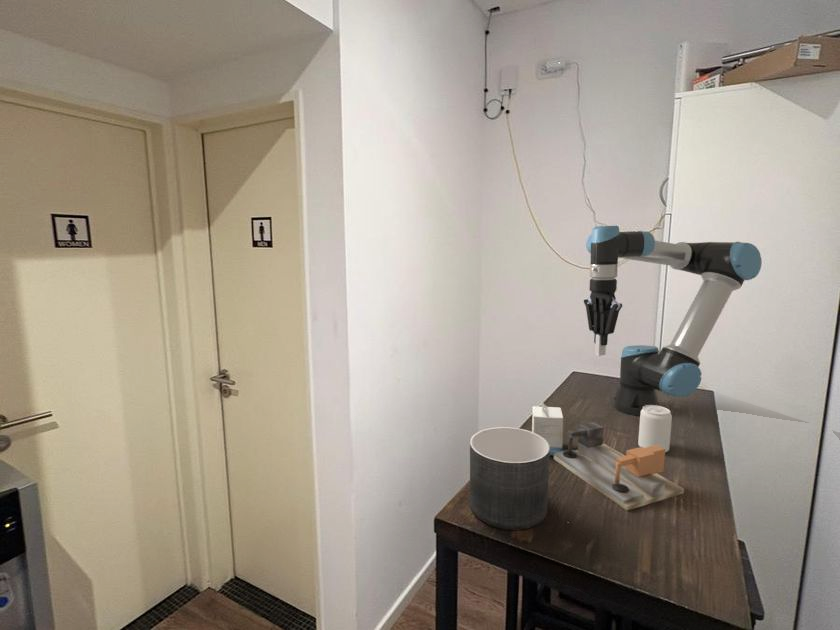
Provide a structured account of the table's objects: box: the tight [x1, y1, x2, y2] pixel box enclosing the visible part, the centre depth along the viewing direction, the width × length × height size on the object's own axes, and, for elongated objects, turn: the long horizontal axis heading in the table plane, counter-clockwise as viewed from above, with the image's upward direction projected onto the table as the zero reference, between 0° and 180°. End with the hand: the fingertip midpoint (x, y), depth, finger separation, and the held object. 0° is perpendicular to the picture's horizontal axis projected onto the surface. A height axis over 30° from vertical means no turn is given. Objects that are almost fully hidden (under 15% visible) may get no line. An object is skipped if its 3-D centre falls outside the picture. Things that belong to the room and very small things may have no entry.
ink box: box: [531, 401, 564, 457], centre depth 130 cm, size 9×8×13 cm
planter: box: [469, 426, 551, 531], centre depth 102 cm, size 18×18×16 cm
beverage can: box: [637, 405, 673, 453], centre depth 129 cm, size 8×8×12 cm
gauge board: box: [553, 421, 685, 512], centre depth 115 cm, size 18×26×9 cm
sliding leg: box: [615, 445, 666, 484], centre depth 109 cm, size 14×4×7 cm, turn 111°
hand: (600, 354), depth 136 cm, fingers closed
